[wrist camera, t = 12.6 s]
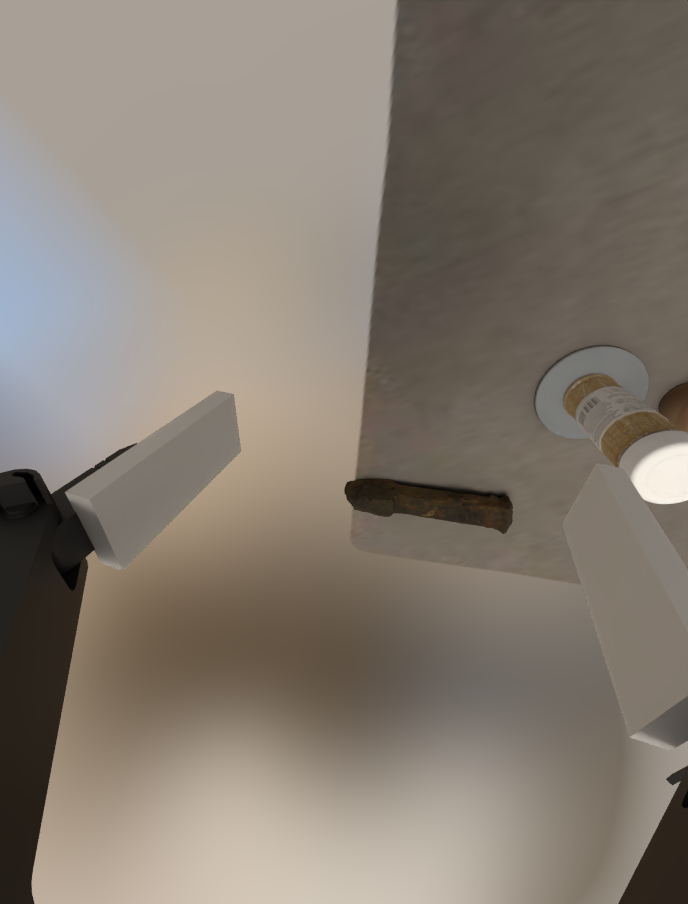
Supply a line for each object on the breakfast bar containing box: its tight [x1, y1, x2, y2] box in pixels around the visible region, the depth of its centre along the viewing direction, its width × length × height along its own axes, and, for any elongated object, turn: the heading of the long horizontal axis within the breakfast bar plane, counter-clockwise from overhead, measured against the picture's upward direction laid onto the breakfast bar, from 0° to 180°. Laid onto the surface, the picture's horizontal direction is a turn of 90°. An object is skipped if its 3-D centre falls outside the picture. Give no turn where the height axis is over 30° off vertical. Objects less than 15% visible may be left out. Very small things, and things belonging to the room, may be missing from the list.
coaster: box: [535, 346, 649, 439], centre depth 33 cm, size 9×9×1 cm
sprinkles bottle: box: [563, 374, 688, 504], centre depth 27 cm, size 5×5×13 cm
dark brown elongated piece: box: [345, 479, 513, 534], centre depth 41 cm, size 19×4×5 cm, turn 85°
